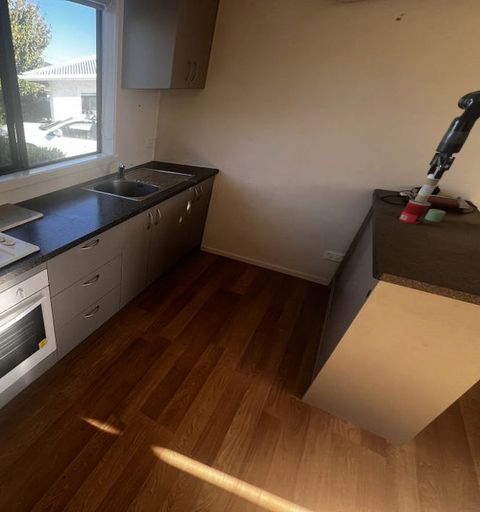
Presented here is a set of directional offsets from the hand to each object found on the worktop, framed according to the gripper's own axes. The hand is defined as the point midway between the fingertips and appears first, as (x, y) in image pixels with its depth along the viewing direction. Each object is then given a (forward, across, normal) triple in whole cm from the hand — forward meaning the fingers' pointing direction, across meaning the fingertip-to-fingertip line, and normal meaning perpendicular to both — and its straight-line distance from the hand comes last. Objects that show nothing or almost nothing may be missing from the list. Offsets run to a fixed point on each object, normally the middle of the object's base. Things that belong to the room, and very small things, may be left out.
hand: (433, 177), depth 140 cm
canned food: (+24, 0, 0) cm, 24 cm away
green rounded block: (+24, +10, -12) cm, 29 cm away
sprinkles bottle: (+12, 0, 0) cm, 13 cm away
